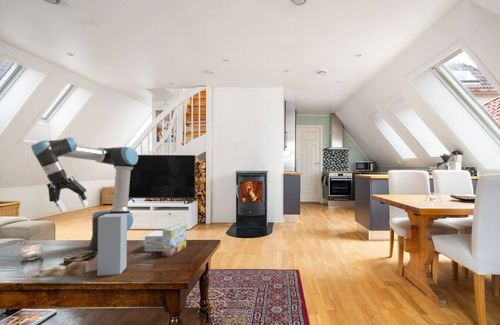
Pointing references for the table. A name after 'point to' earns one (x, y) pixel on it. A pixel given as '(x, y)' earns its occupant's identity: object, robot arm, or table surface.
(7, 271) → the table surface
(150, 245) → the supplement box
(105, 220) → the slate column
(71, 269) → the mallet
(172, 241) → the snack box
